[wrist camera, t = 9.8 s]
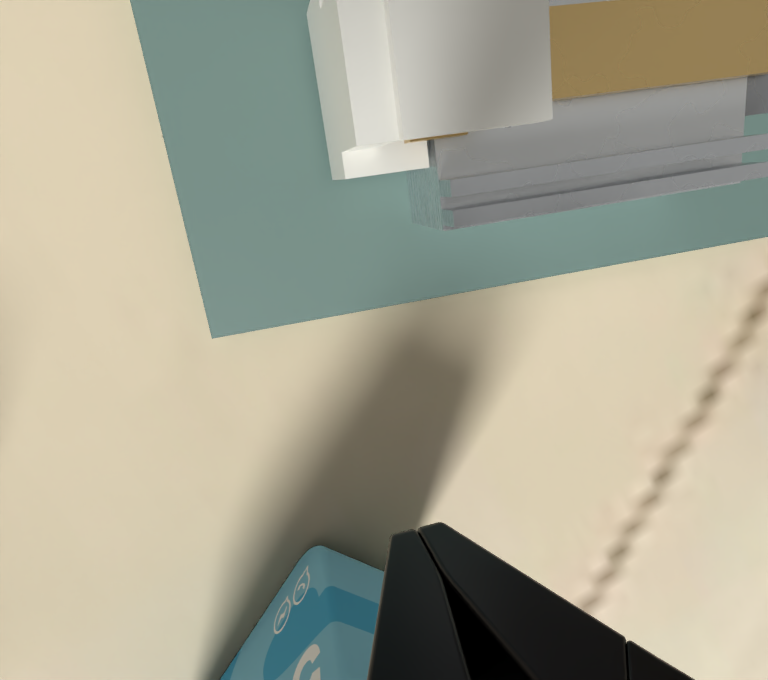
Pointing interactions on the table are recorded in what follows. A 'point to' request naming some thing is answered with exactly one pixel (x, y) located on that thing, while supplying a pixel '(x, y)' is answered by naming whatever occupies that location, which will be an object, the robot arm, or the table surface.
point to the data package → (315, 623)
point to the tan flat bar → (652, 45)
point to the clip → (424, 75)
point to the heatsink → (593, 154)
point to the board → (355, 187)
